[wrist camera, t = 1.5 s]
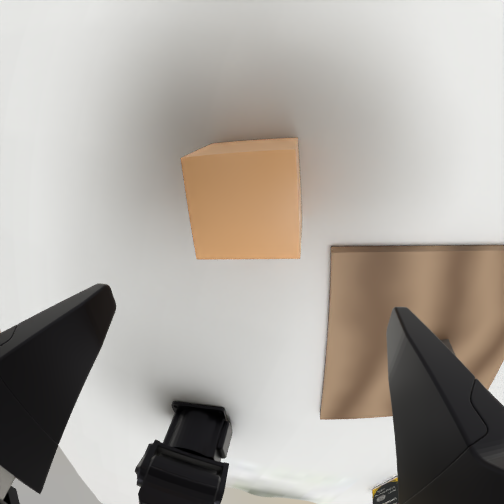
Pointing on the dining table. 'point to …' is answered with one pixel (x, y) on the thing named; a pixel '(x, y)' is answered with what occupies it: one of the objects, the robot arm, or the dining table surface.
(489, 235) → the dining table surface
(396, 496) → the medicine bottle
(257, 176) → the peach wooden cube
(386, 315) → the wooden base with peg
